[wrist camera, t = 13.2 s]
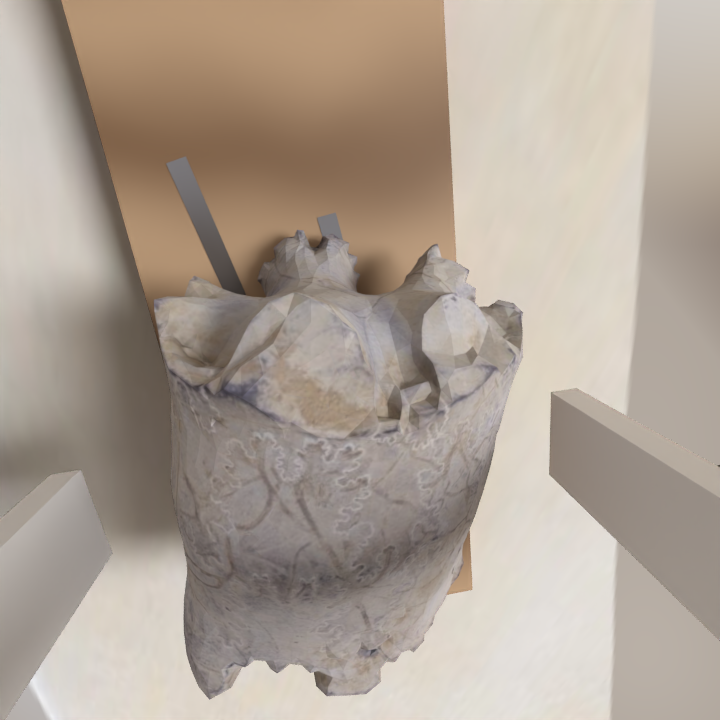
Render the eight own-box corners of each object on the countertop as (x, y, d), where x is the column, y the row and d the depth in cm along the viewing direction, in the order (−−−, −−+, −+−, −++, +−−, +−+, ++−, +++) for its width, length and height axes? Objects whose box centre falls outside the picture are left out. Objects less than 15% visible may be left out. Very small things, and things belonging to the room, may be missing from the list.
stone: (215, 553, 15) (145, 788, 9) (211, 224, 12) (94, 202, 5) (417, 549, 16) (491, 754, 10) (464, 249, 13) (622, 256, 7)
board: (67, -64, 11) (29, -111, 9) (421, -88, 12) (437, -135, 10) (247, 604, 18) (241, 636, 16) (460, 563, 19) (472, 590, 17)
